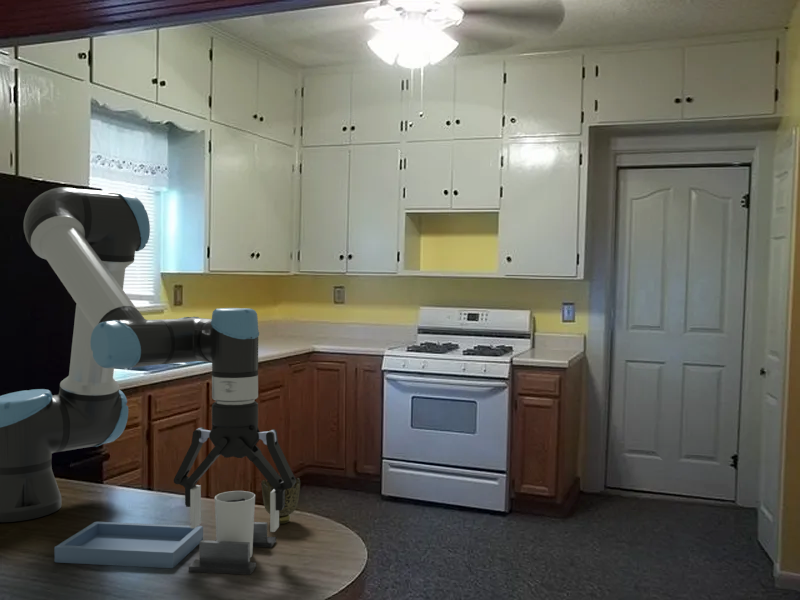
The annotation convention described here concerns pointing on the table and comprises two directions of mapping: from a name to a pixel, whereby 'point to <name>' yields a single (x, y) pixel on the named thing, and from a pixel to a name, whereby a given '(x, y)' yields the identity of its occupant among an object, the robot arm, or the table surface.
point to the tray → (129, 544)
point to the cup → (290, 499)
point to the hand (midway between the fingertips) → (234, 527)
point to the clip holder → (231, 553)
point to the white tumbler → (235, 517)
